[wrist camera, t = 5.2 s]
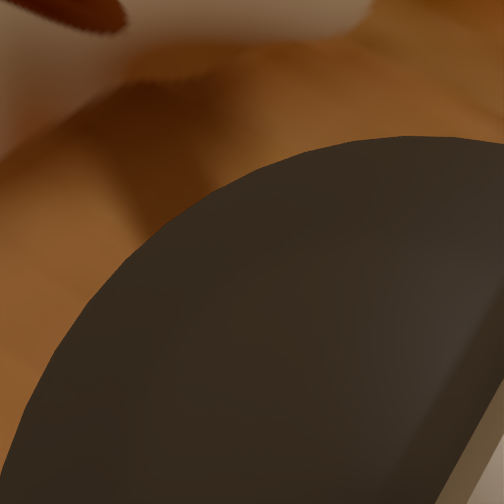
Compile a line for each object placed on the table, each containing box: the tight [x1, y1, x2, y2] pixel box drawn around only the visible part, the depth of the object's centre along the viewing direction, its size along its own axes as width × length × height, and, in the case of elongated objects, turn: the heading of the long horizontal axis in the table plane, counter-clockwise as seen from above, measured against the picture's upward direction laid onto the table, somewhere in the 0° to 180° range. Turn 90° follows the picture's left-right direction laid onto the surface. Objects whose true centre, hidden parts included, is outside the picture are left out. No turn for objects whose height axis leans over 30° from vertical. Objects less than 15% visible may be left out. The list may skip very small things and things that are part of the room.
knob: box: [0, 136, 504, 504], centre depth 8 cm, size 5×5×12 cm
